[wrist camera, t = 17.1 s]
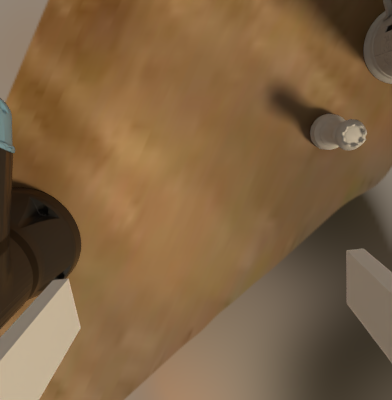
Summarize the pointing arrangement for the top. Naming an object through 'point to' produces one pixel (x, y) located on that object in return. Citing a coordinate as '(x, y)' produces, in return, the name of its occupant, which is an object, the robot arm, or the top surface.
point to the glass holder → (380, 45)
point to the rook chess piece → (337, 132)
